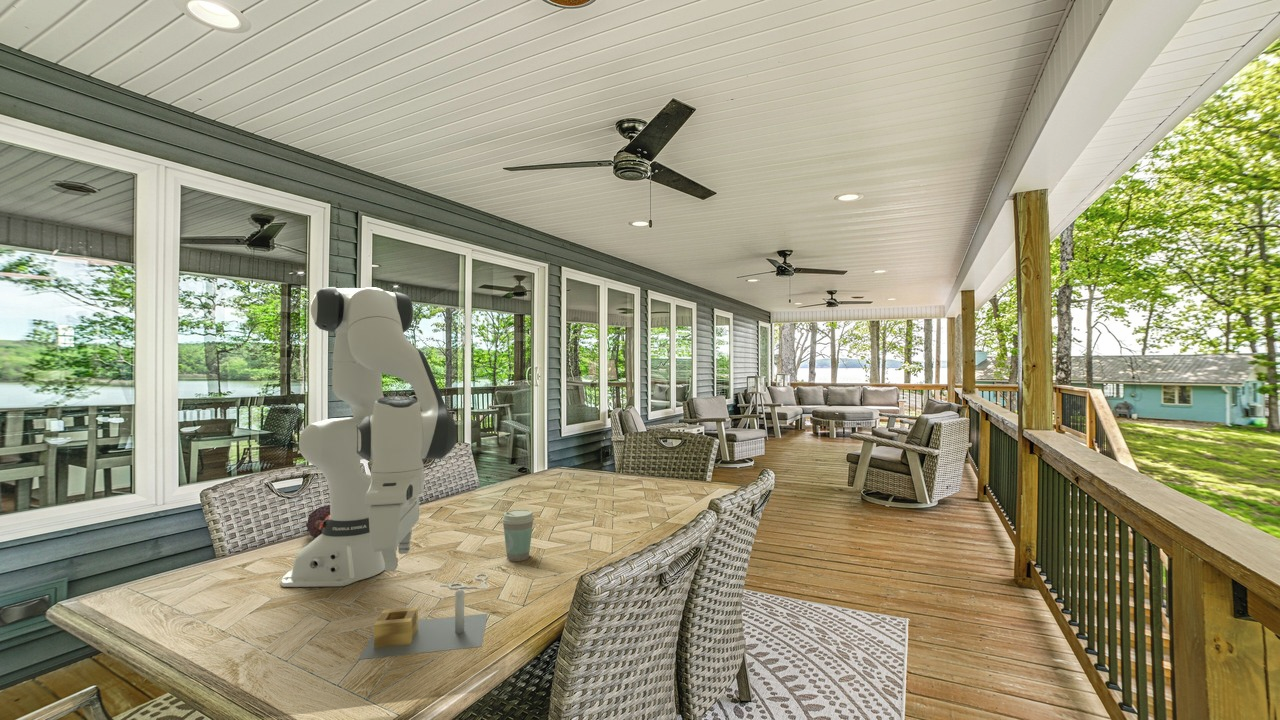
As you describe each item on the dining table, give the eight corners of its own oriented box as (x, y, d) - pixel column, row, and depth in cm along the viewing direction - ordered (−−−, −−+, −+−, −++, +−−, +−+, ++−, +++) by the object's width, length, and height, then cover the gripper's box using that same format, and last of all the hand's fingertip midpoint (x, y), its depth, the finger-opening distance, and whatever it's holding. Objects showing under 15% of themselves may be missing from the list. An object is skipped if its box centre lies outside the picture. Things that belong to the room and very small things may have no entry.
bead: (373, 647, 92) (374, 624, 92) (383, 631, 98) (383, 609, 98) (410, 644, 93) (410, 621, 93) (417, 628, 99) (417, 606, 99)
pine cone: (297, 536, 161) (297, 504, 162) (332, 529, 169) (332, 498, 169) (317, 548, 150) (318, 513, 150) (354, 540, 157) (355, 506, 158)
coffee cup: (504, 552, 146) (504, 509, 146) (535, 551, 146) (535, 508, 147) (499, 563, 137) (499, 517, 137) (532, 562, 138) (532, 516, 138)
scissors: (478, 571, 131) (531, 590, 119) (478, 574, 131) (531, 594, 119) (439, 585, 123) (491, 607, 110) (439, 588, 123) (491, 611, 110)
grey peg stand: (358, 668, 88) (358, 612, 88) (380, 631, 101) (380, 582, 101) (481, 654, 92) (481, 601, 92) (487, 621, 105) (487, 574, 105)
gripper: (393, 475, 106) (394, 545, 105) (361, 497, 86) (361, 583, 85) (427, 474, 107) (427, 542, 106) (403, 495, 87) (403, 579, 86)
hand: (398, 560), depth 96 cm, fingers open, 8 cm apart
